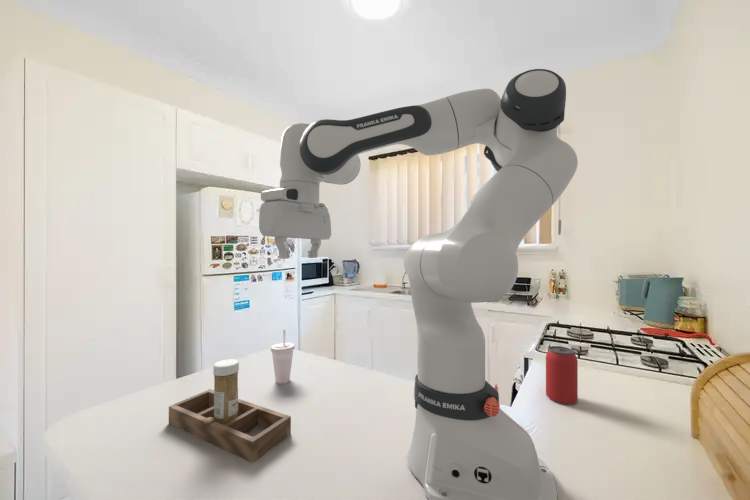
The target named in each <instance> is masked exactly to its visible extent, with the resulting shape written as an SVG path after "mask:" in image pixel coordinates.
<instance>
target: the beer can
mask: <svg viewBox="0 0 750 500" xmlns="http://www.w3.org/2000/svg"><path fill="white" fill-rule="evenodd" d="M578 366H579V365H578V358H577V356H576V351H575V350H574V349H572V348H569V347H564V346H561V345H560V346H557V345H552V346H549V347H548V348H547V352H546V356H545V395H546V397H547V398H548V399H550V400H551V401H553V402H555V403H558V404H562V405H567V406H568V405H574V404H577V402H578V400H579V399H578V397H579V396H578V395H579V393H578V392H579V391H578V383H579V382H578V368H579V367H578Z"/></svg>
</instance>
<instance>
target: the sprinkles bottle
mask: <svg viewBox="0 0 750 500" xmlns="http://www.w3.org/2000/svg"><path fill="white" fill-rule="evenodd" d="M212 369H213V377H214V379H213V380H214V381H213V382H214V386H213V387H214V388H213V390H214V421H215V422H218V423H220V424H223V425H224V424H226V423H228V422H229V421H231V420H233V419H235V418H237V417H238V399H239V385H238V384H239V383H238V382H239V381H238V380H239V379H238V378H239V377H238V375H239V370H240V362H239V361H238V360H237V359H235V358H233V359H232V358H229V359H222V360H219V361H217V362H215V363H214V364H213V368H212Z"/></svg>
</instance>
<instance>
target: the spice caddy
mask: <svg viewBox="0 0 750 500" xmlns="http://www.w3.org/2000/svg"><path fill="white" fill-rule="evenodd" d="M168 424H169V425H171V426H173V427H175V428H178V429H180V430H181V431H184V432H186V433H188V434H190V435H192V436H195V437H196V438H198V439H200V440H203V441H206V442H207V443H209V444H211V445H214V446H216V447H217V448H220V449H222V450H224V451H226V452H228V453H231V454H233V455H235V456H237V457H240V458H242V459H243V460H246V461H247V462H249V463H252V464H253V463H254V462H256V461H257V460H259V459H260V458H261V457H262V456H264V455H266V454H267V453H268V452H269V451H271V450H272V449H274V448H275V447H276V446H277V445H279V444H280V443H281V442H283V441H284V440H285V439H287V438H288V437H289V436H291V435H292V433H291V427H292V416H291V415H287V414H286V413H285V414H284V413H282V412H279V411H276V410H273V409H270V408H267V407H264V406H262V405H258V404H255V403H253V402H249V401H246V400H243V399H240V398H238V417H237V418H235V419H233V420H231V421H229V422H228V423H226V424H224V425H223V424H220V423H218V422H215V421H214V389H210V388H209V389H207V390H205V391H202V392H199V393H198V394H195V395H193V396H190V397H188V398H185V399H183V400H181V401H179V402H177V403H174V404H172V405H169V406H168ZM257 427H259V428H262V429H264V430H262V431H260V432H259V433H257V434H256V435H254V436H251V435H249V434H247V433H249V432H250V431H252V430H254V429H255V428H257Z"/></svg>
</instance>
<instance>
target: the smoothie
mask: <svg viewBox="0 0 750 500" xmlns="http://www.w3.org/2000/svg"><path fill="white" fill-rule="evenodd" d="M282 336H283V337H282V339H283V340H282V342H278V343H274V344H272V345H271V346H270V352H271V353H272V355H271V356H272V362H273V363H272V364H273V370H274V381H275V383H276V384H279V385H280V384H281V385H282V384H283V385H284V384H287V383H288V382H290V380H291V372H292V364H293V356H294V350H295V344H294V343H293V342H287V341H286V329H285V328H284V329H283V335H282Z"/></svg>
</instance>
